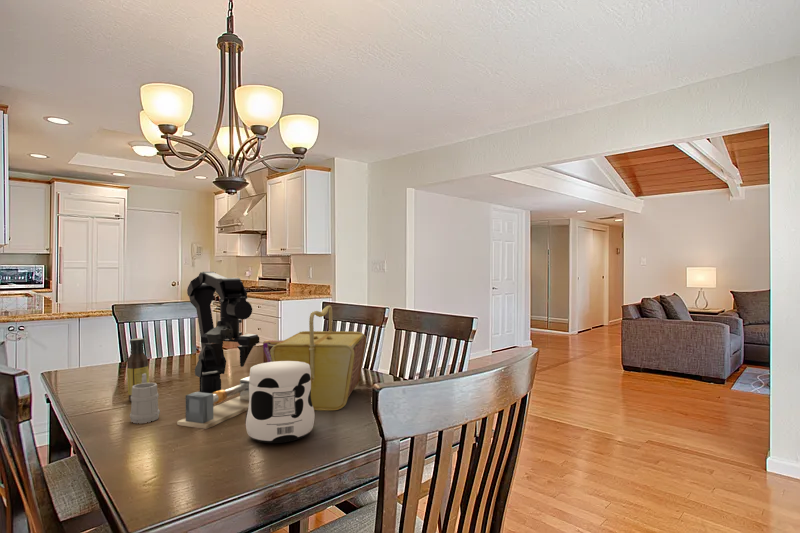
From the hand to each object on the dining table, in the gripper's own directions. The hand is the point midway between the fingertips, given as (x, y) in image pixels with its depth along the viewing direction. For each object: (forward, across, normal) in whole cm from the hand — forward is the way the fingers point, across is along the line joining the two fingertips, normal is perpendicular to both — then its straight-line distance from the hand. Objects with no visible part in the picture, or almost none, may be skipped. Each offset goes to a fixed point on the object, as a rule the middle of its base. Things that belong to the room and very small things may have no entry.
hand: (230, 365), depth 153 cm
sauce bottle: (+12, -32, -6) cm, 35 cm away
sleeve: (+11, +5, +6) cm, 13 cm away
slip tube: (+8, +5, -8) cm, 13 cm away
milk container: (+12, +32, -20) cm, 40 cm away
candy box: (+12, -3, +30) cm, 33 cm away
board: (+12, +5, -5) cm, 14 cm away
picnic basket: (+12, +26, +14) cm, 32 cm away
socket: (+11, +5, -19) cm, 23 cm away
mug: (+12, -14, -20) cm, 27 cm away
